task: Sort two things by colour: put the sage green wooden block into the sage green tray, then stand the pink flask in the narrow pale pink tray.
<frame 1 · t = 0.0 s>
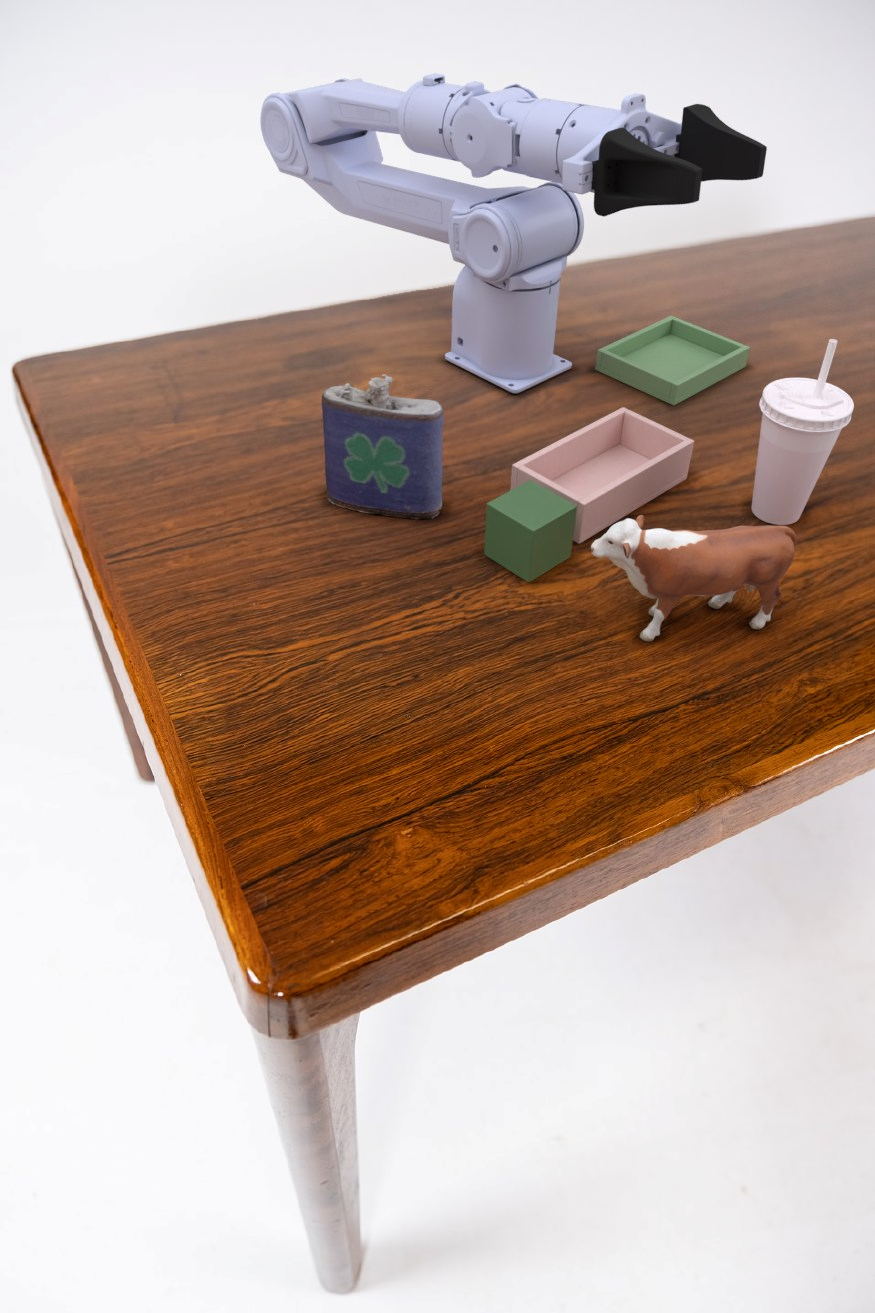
hand: (731, 173, 71), 22 cm above the table, tool horizontal, fingers open, 7 cm apart
bull figurine: (680, 622, 69), on the table
green block: (527, 555, 74), on the table
flask: (383, 506, 79), on the table
pink tray: (599, 490, 80), on the table
smoothie: (775, 513, 79), on the table
green tray: (670, 368, 96), on the table
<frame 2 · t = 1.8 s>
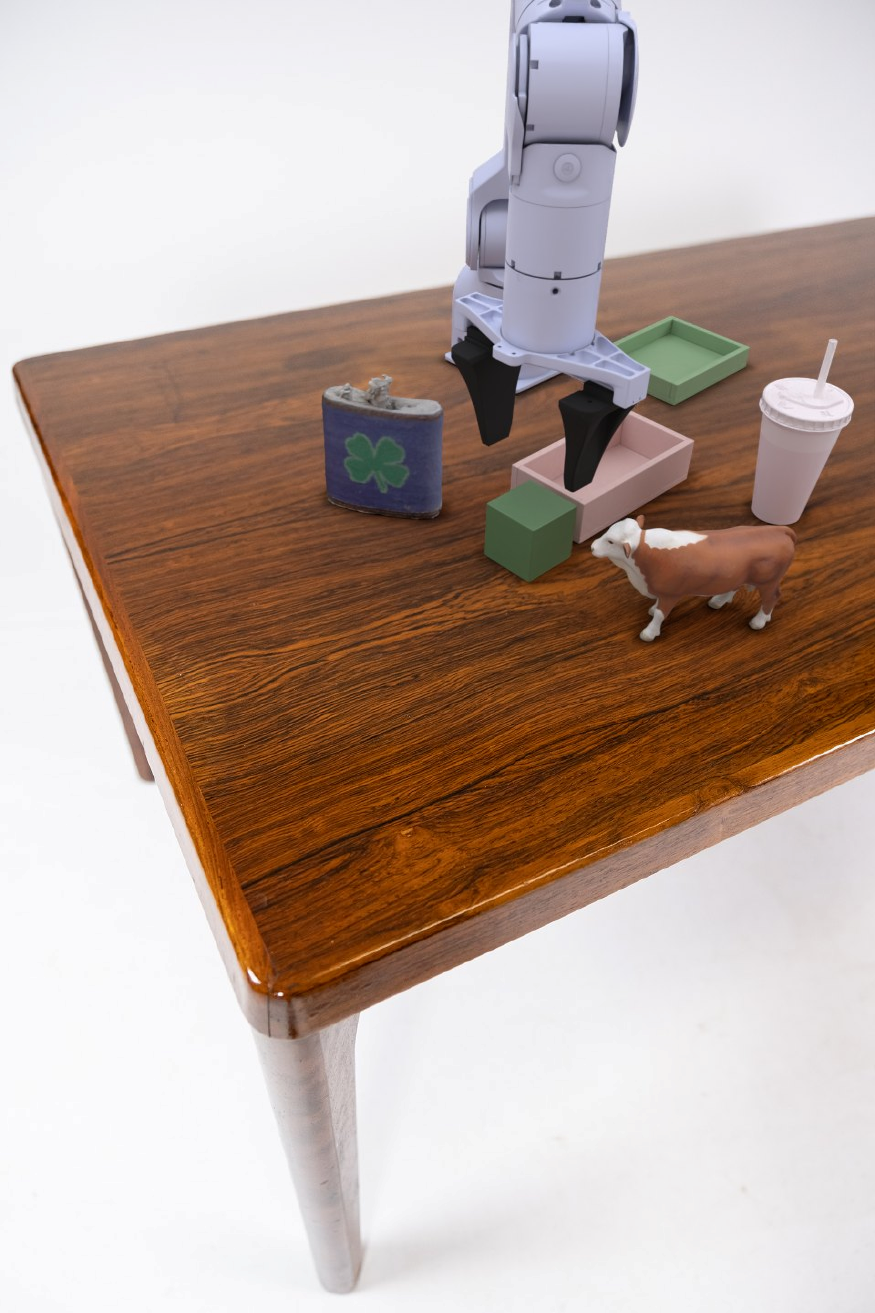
hand: (535, 461, 68), 8 cm above the table, tool pointing down, fingers open, 7 cm apart
nothing on the table moved.
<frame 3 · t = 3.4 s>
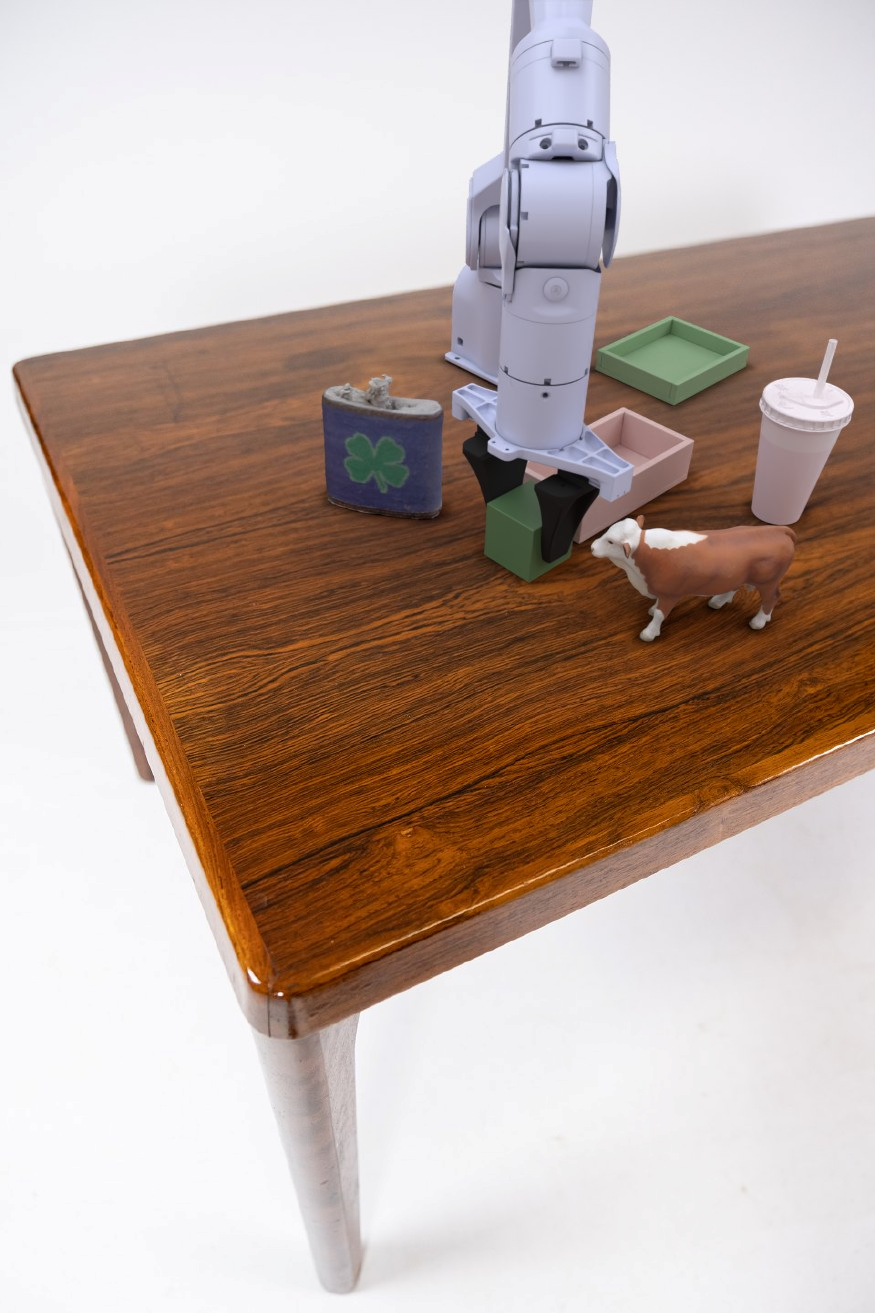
hand: (528, 540, 73), 1 cm above the table, tool pointing down, fingers closed on green block, 4 cm apart
green block: (527, 556, 74), on the table, touching gripper
everything else where it was.
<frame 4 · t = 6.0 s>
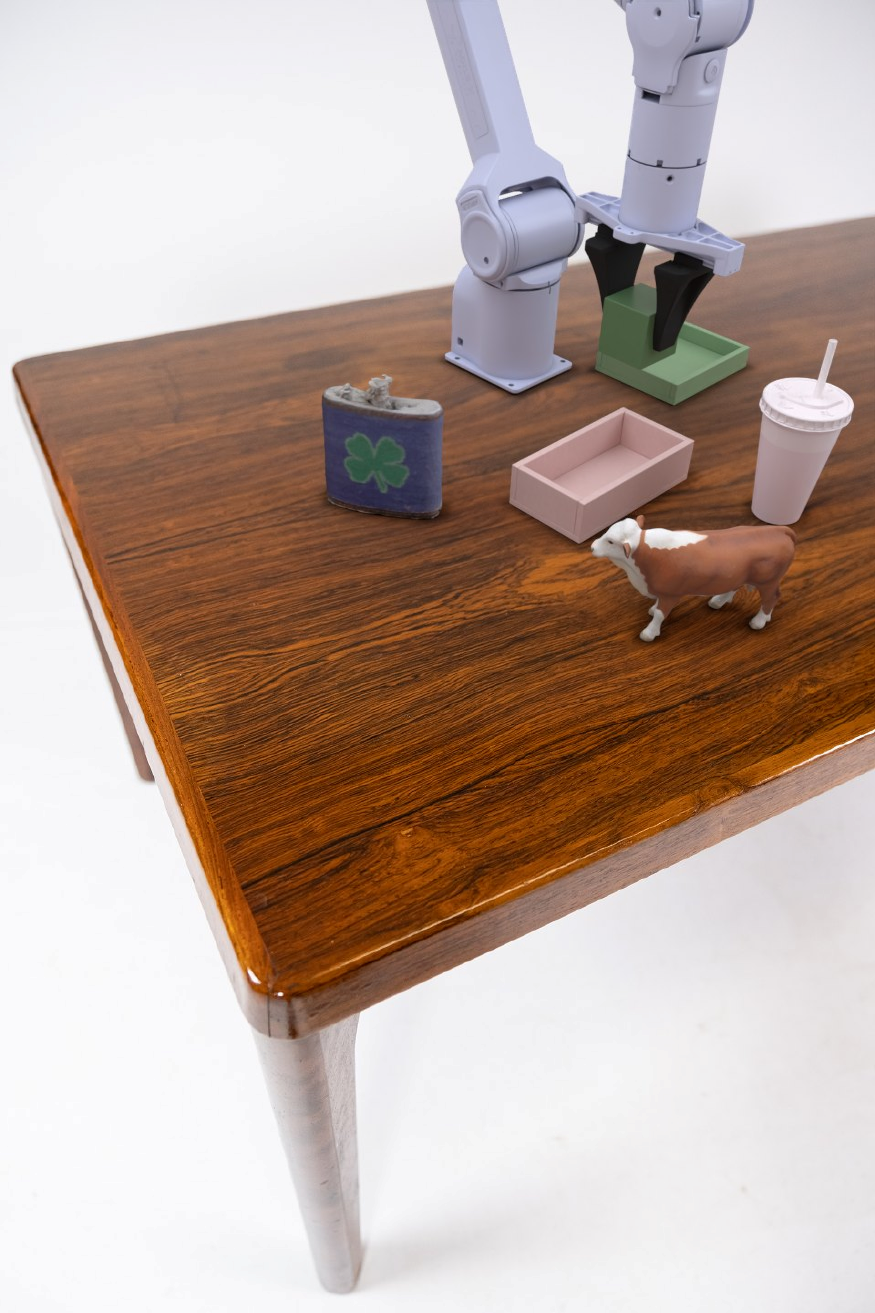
hand: (638, 335, 82), 8 cm above the table, tool pointing down, fingers closed on green block, 4 cm apart
green block: (636, 352, 83), point 7 cm above the table, touching gripper
everything else where it was.
when the fingers open (2 cm above the table, at t = 9.0 s): green block stays where it is, resting on green tray.
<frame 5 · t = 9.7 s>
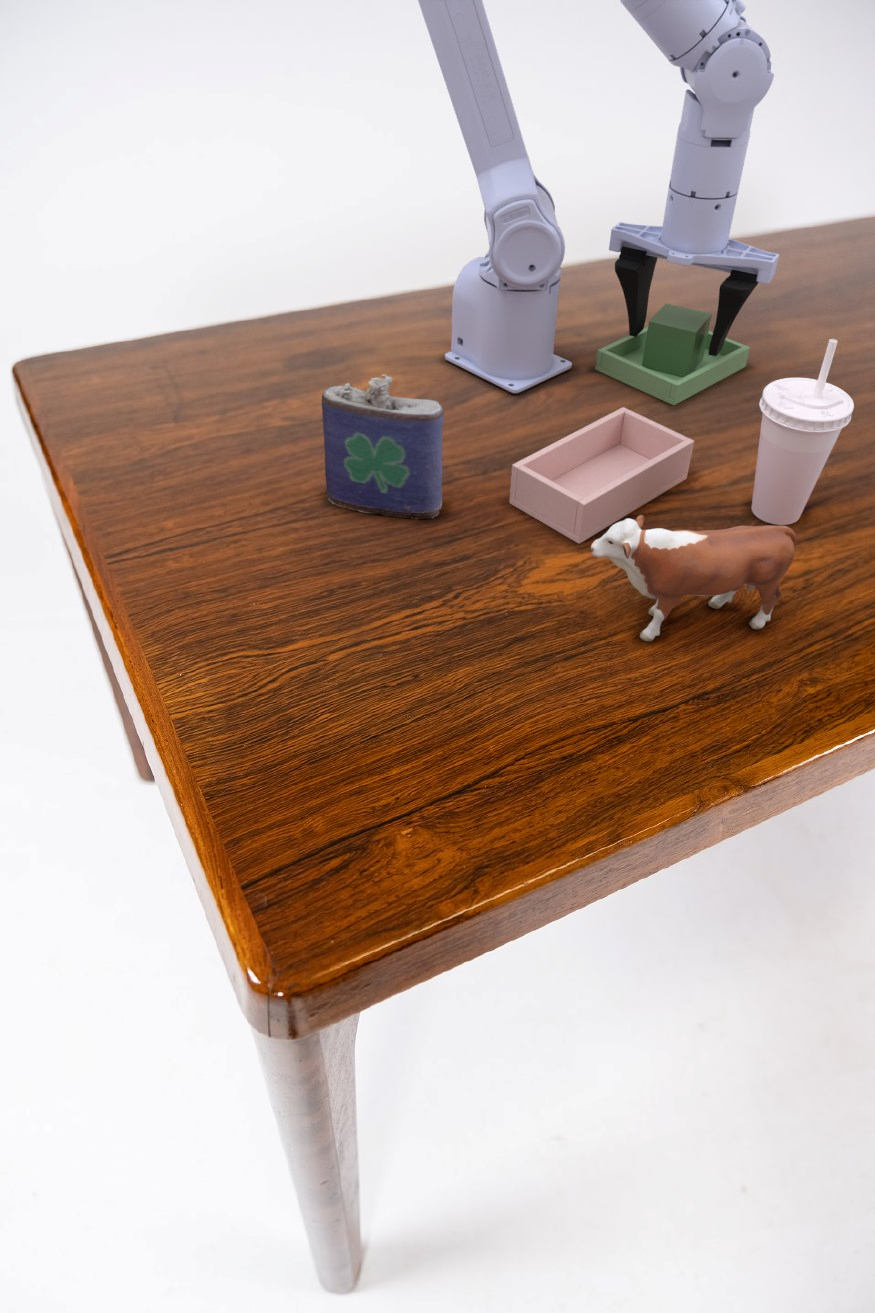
hand: (675, 341, 94), 3 cm above the table, tool pointing down, fingers open, 7 cm apart
green block: (672, 363, 95), resting on green tray
everything else where it was.
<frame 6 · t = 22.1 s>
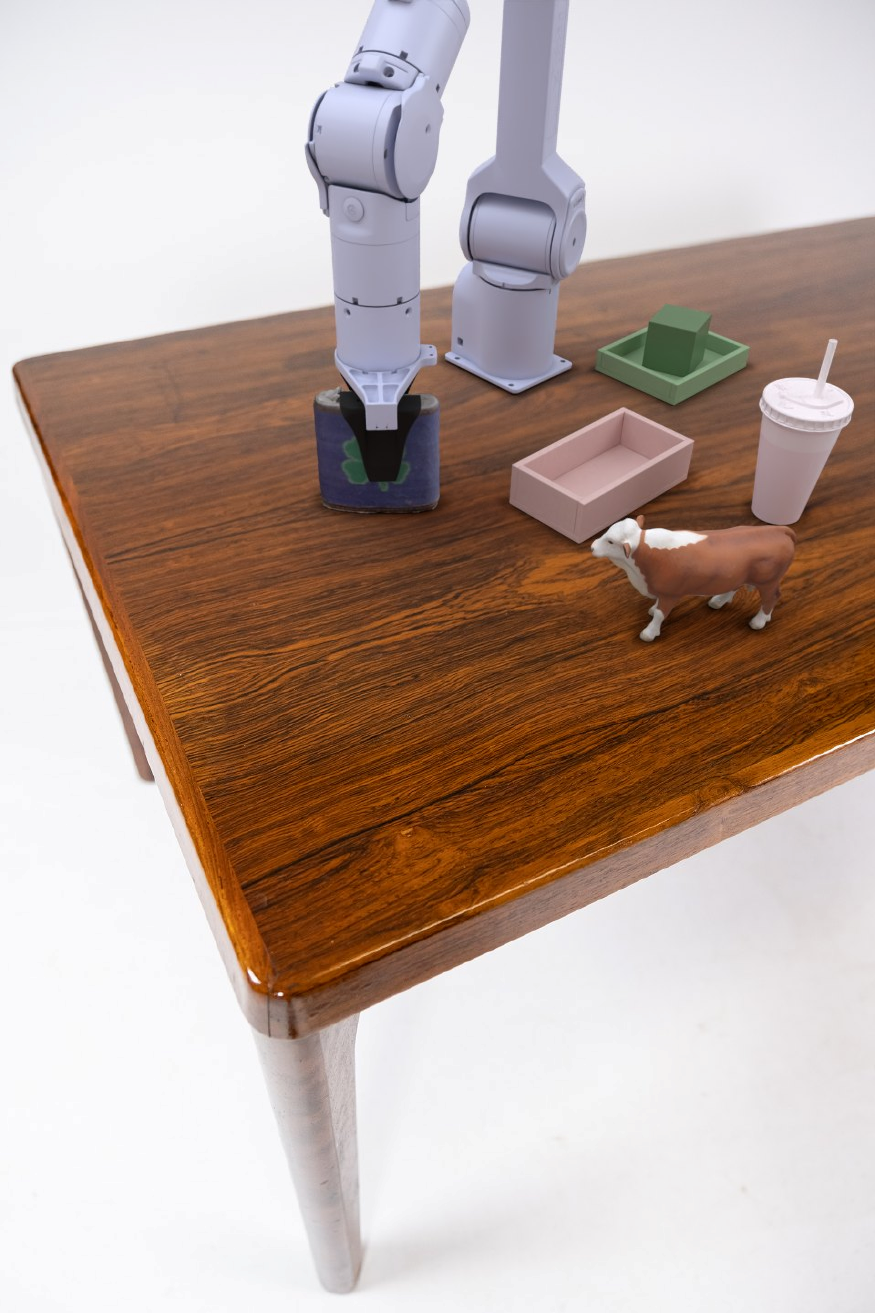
hand: (382, 466, 76), 3 cm above the table, tool pointing down, fingers closed on flask, 3 cm apart
flask: (379, 504, 79), on the table, touching gripper
everything else where it was.
when the fingers open (4 cm above the table, at t = 28.6 s): flask stays where it is, resting on pink tray.
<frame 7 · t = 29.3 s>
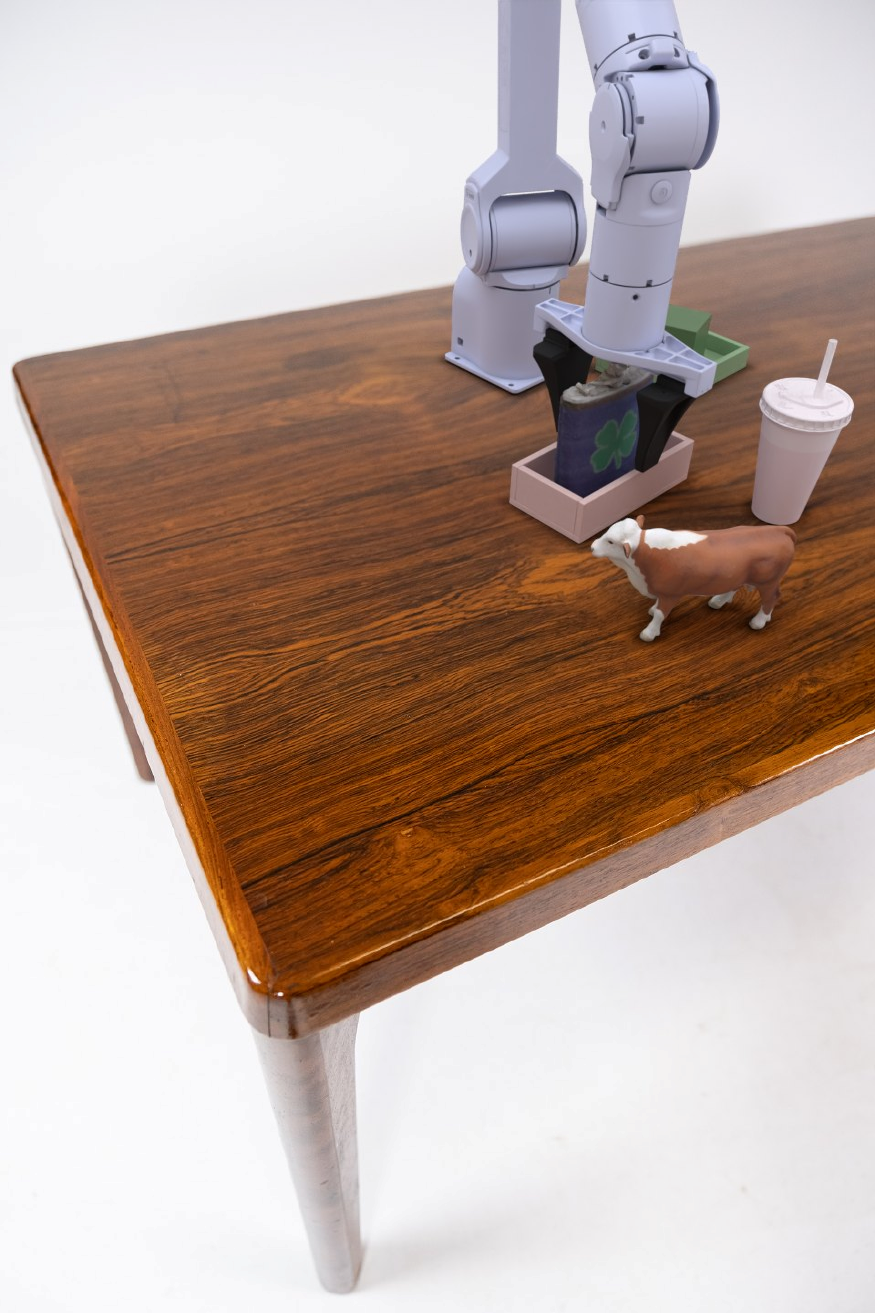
hand: (605, 447, 78), 4 cm above the table, tool pointing down, fingers open, 7 cm apart
flask: (596, 488, 80), resting on pink tray
everything else where it was.
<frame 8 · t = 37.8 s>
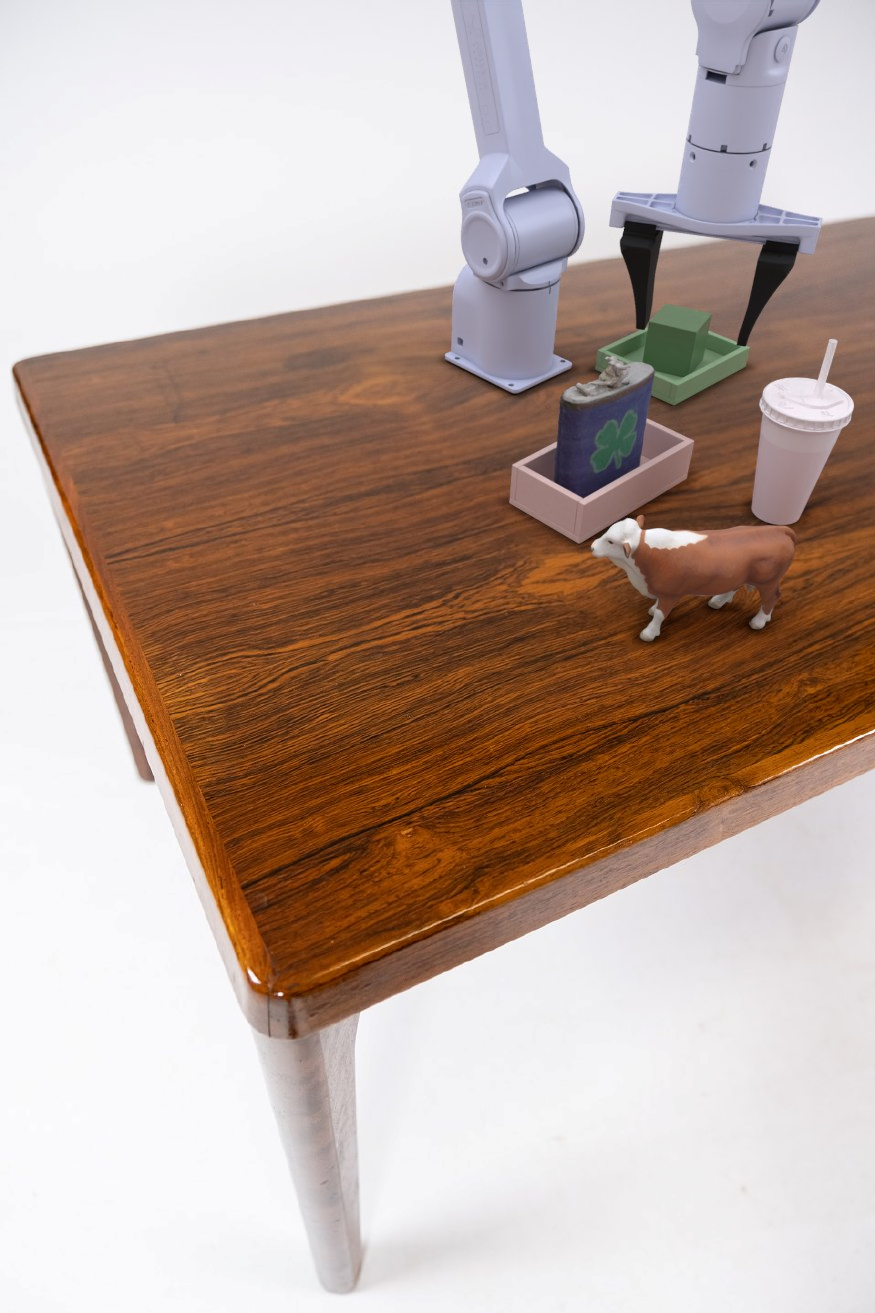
hand: (692, 332, 78), 10 cm above the table, tool pointing down, fingers open, 7 cm apart
nothing on the table moved.
at the end: green block inside the target area in the green tray (0.1 cm from its centre), point 0.5 cm above the green tray's base; flask inside the target area in the pink tray (0.3 cm from its centre), point 0.3 cm above the pink tray's base; flask tilted 0° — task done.
